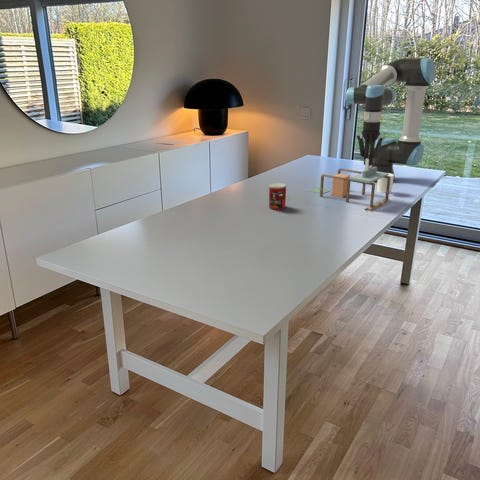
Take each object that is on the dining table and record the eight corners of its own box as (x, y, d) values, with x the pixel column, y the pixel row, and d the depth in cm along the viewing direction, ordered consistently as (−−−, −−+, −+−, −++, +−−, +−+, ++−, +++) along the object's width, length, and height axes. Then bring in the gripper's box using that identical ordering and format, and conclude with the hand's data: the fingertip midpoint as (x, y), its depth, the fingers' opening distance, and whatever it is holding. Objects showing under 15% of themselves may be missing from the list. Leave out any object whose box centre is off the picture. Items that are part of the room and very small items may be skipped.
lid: (369, 172, 232) (369, 164, 230) (388, 175, 225) (389, 167, 224) (349, 179, 218) (350, 171, 217) (369, 183, 212) (370, 174, 211)
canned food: (266, 208, 220) (266, 186, 216) (273, 204, 227) (273, 182, 223) (281, 211, 217) (281, 188, 213) (287, 206, 223) (288, 183, 219)
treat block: (338, 192, 239) (339, 173, 236) (348, 194, 236) (350, 175, 232) (331, 195, 235) (333, 175, 231) (342, 197, 231) (343, 177, 228)
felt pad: (317, 188, 248) (317, 187, 248) (330, 190, 243) (330, 190, 243) (308, 191, 242) (308, 190, 242) (322, 194, 237) (322, 193, 237)
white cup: (388, 196, 237) (390, 177, 233) (373, 194, 241) (375, 175, 238) (394, 193, 243) (396, 174, 239) (379, 190, 247) (381, 172, 243)
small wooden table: (322, 187, 253) (323, 164, 248) (389, 201, 229) (392, 176, 225) (301, 196, 239) (302, 171, 234) (370, 211, 216) (372, 184, 211)
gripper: (355, 120, 214) (350, 171, 223) (381, 123, 206) (376, 175, 215) (362, 119, 220) (358, 168, 228) (389, 121, 212) (383, 172, 220)
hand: (367, 171), depth 222 cm, fingers closed
